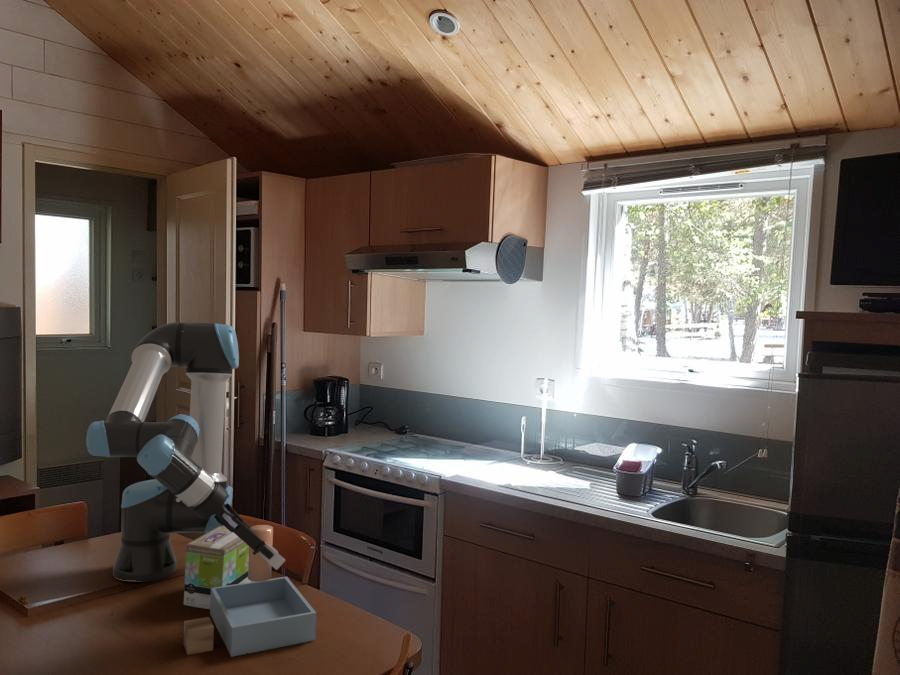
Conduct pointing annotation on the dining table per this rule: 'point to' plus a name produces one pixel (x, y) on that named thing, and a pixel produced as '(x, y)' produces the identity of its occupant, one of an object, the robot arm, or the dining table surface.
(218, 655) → the dining table surface
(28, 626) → the dining table surface
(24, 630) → the dining table surface
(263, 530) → the peach orange cylinder
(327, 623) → the dining table surface
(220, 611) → the tote
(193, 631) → the block
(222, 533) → the tea box
